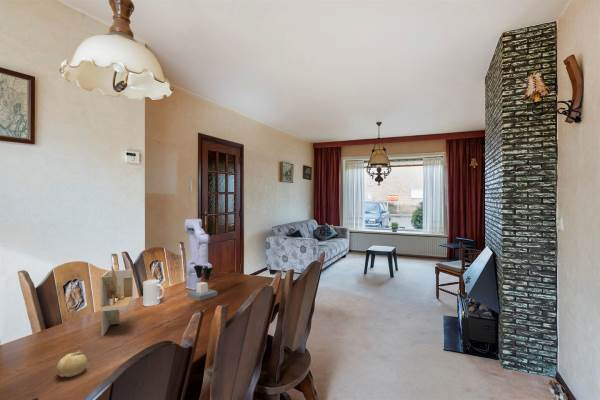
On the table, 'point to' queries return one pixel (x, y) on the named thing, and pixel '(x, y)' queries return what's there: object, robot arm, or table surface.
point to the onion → (71, 364)
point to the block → (202, 287)
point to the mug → (151, 292)
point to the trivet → (202, 296)
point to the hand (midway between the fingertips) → (203, 278)
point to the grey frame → (115, 295)
